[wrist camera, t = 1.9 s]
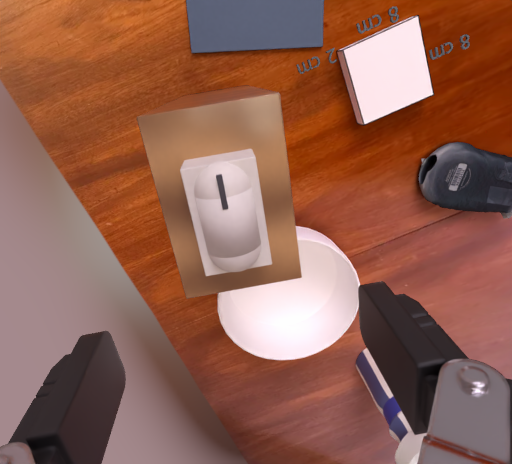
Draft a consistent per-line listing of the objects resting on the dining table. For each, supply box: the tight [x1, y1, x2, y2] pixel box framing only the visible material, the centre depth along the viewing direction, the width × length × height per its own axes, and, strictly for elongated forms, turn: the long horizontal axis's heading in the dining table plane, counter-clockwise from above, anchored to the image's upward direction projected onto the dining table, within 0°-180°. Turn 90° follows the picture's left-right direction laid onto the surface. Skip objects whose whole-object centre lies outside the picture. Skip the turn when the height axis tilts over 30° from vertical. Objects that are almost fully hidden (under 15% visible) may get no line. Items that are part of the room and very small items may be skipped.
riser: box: [137, 85, 302, 299], centre depth 35 cm, size 12×8×28 cm, turn 9°
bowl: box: [218, 226, 360, 360], centre depth 53 cm, size 20×20×8 cm
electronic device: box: [419, 142, 512, 219], centre depth 52 cm, size 9×6×15 cm
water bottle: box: [356, 348, 427, 464], centre depth 54 cm, size 8×9×25 cm
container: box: [297, 7, 470, 126], centre depth 45 cm, size 20×11×3 cm, turn 113°
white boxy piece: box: [180, 149, 272, 276], centre depth 21 cm, size 7×4×4 cm, turn 9°
